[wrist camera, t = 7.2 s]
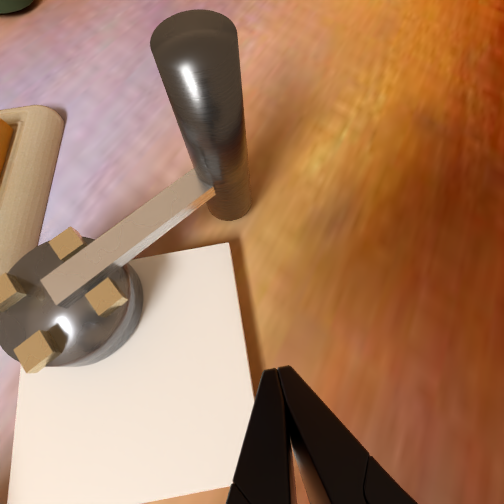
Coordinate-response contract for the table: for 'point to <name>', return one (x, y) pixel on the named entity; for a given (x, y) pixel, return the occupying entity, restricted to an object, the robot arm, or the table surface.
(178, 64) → the dark cylinder with bar
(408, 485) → the table surface
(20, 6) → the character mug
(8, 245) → the wooden puzzle
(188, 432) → the cap plate
